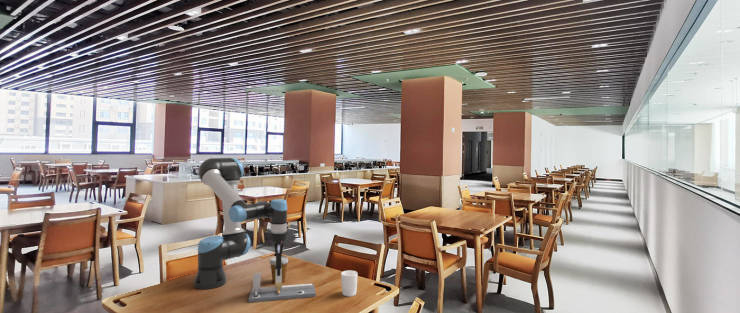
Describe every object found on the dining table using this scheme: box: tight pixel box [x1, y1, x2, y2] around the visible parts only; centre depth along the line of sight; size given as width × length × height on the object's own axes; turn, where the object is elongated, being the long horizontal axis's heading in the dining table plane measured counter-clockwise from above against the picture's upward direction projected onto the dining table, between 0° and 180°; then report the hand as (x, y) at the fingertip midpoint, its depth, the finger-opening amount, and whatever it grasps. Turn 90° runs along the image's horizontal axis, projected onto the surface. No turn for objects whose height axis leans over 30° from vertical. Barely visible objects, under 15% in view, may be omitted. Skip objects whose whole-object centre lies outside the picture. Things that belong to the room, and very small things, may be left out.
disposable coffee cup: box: [269, 255, 289, 284], centre depth 188 cm, size 10×10×12 cm
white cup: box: [340, 269, 359, 297], centre depth 172 cm, size 8×8×10 cm
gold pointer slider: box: [274, 260, 283, 294], centre depth 170 cm, size 3×8×13 cm, turn 14°
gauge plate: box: [248, 272, 317, 303], centre depth 171 cm, size 30×12×10 cm, turn 104°
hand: (278, 280), depth 172 cm, fingers closed on gold pointer slider, 3 cm apart
